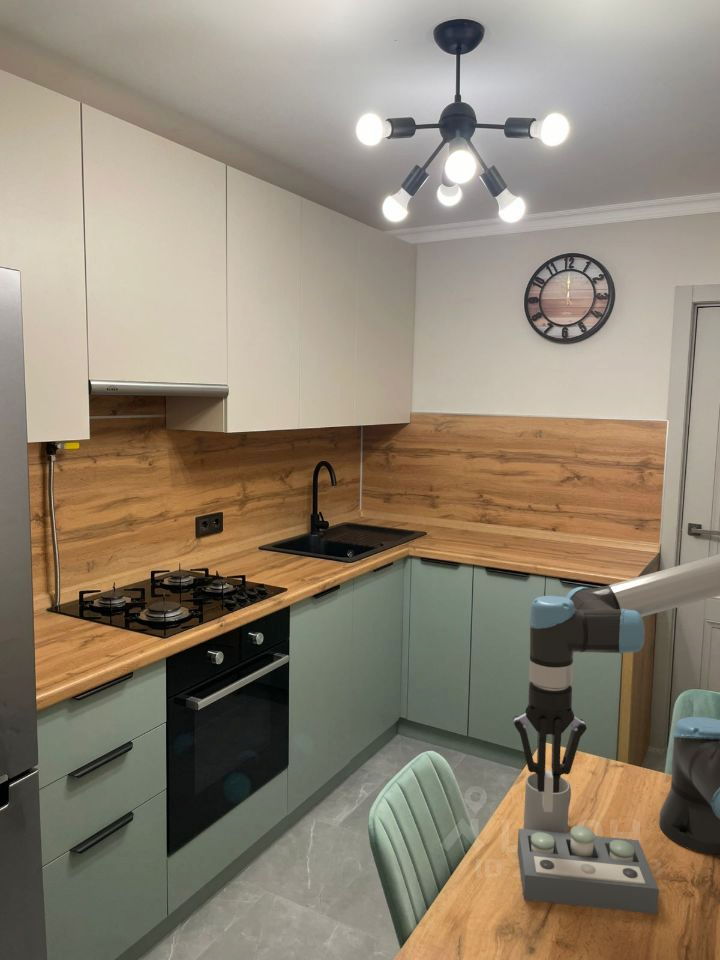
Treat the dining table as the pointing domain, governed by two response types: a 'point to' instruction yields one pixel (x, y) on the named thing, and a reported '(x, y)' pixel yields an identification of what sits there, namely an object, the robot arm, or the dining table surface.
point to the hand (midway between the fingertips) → (547, 807)
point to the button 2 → (621, 850)
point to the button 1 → (542, 843)
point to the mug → (535, 812)
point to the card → (588, 870)
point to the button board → (582, 888)
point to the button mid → (582, 841)
